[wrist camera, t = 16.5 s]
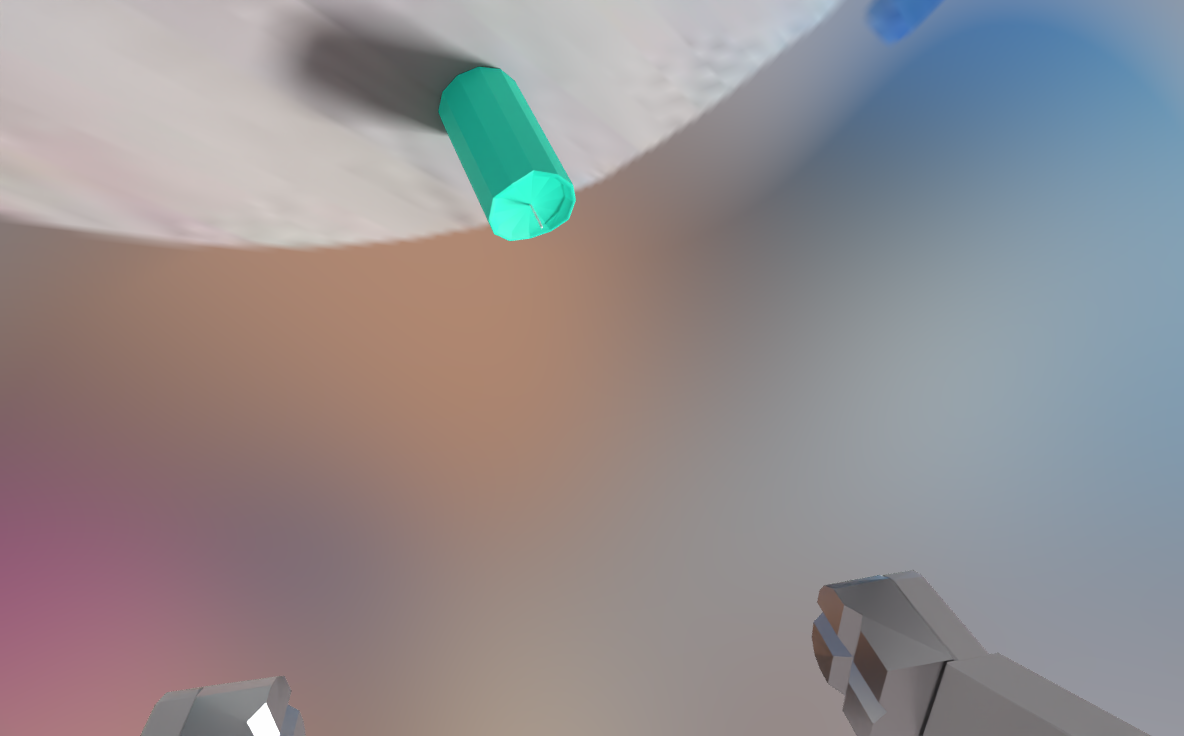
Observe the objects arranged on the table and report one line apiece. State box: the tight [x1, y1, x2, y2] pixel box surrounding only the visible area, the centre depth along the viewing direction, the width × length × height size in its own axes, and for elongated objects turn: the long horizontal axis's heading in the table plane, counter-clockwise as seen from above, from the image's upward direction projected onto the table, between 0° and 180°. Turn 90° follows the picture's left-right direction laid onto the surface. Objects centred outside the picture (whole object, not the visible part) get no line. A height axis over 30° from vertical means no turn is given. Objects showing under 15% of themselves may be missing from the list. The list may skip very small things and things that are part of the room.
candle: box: [438, 67, 576, 241], centre depth 43 cm, size 6×6×12 cm
